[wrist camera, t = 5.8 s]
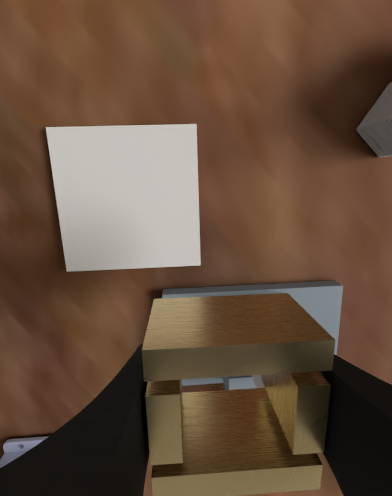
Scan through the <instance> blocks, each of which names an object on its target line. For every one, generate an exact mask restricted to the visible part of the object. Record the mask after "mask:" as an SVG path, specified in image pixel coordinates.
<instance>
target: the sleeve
mask: <svg viewBox="0 0 392 496" xmlns="http://www.w3.org/2000/svg"><path fill="white" fill-rule="evenodd" d="M334 349H335V339H334V338H333V337H332V336H331V335H330V334H329V333H328V332H327V331H326V330H325V329H324V328H323V327H322V326H321V325H320V324H319V323H318V322H317V321H316V320H315V319H314V318H313V317H312V316H311V315H310V314H309V313H308V312H307V311H306V310H305V309H304V308H303V307H302V306H301V305H299V304H298V303H297V302H296V301H295V300H294V299H293V298H292V297H291V296H290V295H289V294H288V293H276V294H254V295H231V296H209V297H186V298H163V299H154V301H153V305H152V309H151V314H150V318H149V322H148V326H147V330H146V334H145V339H144V343H143V347H142V360H143V373H144V382H145V381H148V383H147V389H146V395H145V399H146V412H147V425H148V439H149V452H150V465H153V468H152V491H153V496H238V495H251V494H263V493H275V492H288V491H300V490H312V489H320V485H321V476H322V466H323V465H322V463H321V461H320V459H319V457H318V455H317V453H323V452H324V446H325V437H326V427H327V417H328V407H329V398H330V388H331V385H330V383H329V382H328V381H327V379H326V378H325V377H324V375H323V374H322V373H321V372H320V371H332V368H333V359H334ZM247 375H261V379H262V382H263V384H264V387H265V388H252V389H235V390H219V391H203V392H187V393H182V379H196V378H213V377H230V376H247Z"/></svg>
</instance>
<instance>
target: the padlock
mask: <svg viewBox="0 0 392 496" xmlns="http://www.w3.org/2000/svg"><path fill="white" fill-rule="evenodd" d="M357 132H358V133H359V134H360V136H361V137H362V138H363V139H364V140H365V141H366V143H367V144H368V145H369V146H370V147H371V148H372V150H373V151H374V152H375V153H376V154H377V155H378V157H385V156H392V82H391V83H390V84H388V86H387V87H386V88H385V90H384V91H383V93H382V94H381V95H380V97H379V98H378V99H377V101H376V102H375V104H374V105H373V106H372V108H371V109H370V111H369V112H368V113H367V115H366V116H365V118H364V119H363V120H362V122H361V123H360V125H359V126H358V127H357Z"/></svg>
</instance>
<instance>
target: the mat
mask: <svg viewBox="0 0 392 496" xmlns="http://www.w3.org/2000/svg"><path fill="white" fill-rule="evenodd" d="M46 133H47V140H48V147H49V154H50V161H51V167H52V174H53V181H54V188H55V195H56V202H57V209H58V216H59V222H60V229H61V236H62V243H63V250H64V257H65V264H66V270H67V272H69V271H91V270H112V269H133V268H155V267H176V266H197V265H201V262H200V228H199V195H198V161H197V127H196V124H176V125H130V126H84V127H46Z"/></svg>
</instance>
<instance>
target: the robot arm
mask: <svg viewBox="0 0 392 496" xmlns="http://www.w3.org/2000/svg"><path fill="white" fill-rule="evenodd" d="M142 347H143V344H141V345H140V346H139V347H138V348H137V350H136V351H135V352H134V354H133V355H132V356H131V358H130V359H129V360H128V362H127V363H126V364H125V366H124V367H123V368H122V369H121V370H120V372H119V373H118V374H117V375H116V376H115V378H114V379H113V380H112V381H111V382H110V383H109V384H108V385H107V386H106V387H105V388H104V390H103V391H102V392H101V393H100V394H99V395H98V396H97V397H96V398H95V399H94V400H93V401H92V402H91V403H90V404H89V405H87V406H86V407H85V408H84V409H83V410H82V411H81V412H80V413H78V414H77V415H76V416H75V417H73V418H72V419H71V420H70V421H68V422H67V423H66V424H65V425H63V426H62V427H61V428H59V429H58V430H57V431H56V432H54V433H53V434H52V435H50V436H45V437H32V438H18V439H9V440H7V441H6V442H5V443H4V445H3V450H4V455H3V456H2V458H1V459H0V496H143V491H144V483H145V476H146V470H147V464H148V459H149V453H150V452H149V439H148V425H147V412H146V399H145V395H146V389H147V383H148V381H145V382H144V373H143V360H142ZM320 372H321V373H322V374H323V375H324V377H325V378H326V379H327V381H328V382H329V383H330V385H331V388H330V398H329V407H328V417H327V427H326V437H325V446H324V452H323V454H324V455H325V457H326V459H327V461H328V463H329V465H330V467H331V469H332V471H333V473H334V475H335V477H336V480H337V482H338V484H339V486H340V489H341V491H342V493H343V495H344V496H392V385H391V384H389V383H386V382H384V381H382V380H380V379H378V378H376V377H374V376H373V375H371V374H369V373H367V372H365V371H363V370H361V369H359V368H358V367H356V366H354V365H352V364H350V363H349V362H347V361H345V360H343V359H342V358H340V357H338V356H337V355H335V354H334V359H333V368H332V371H320Z"/></svg>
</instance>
